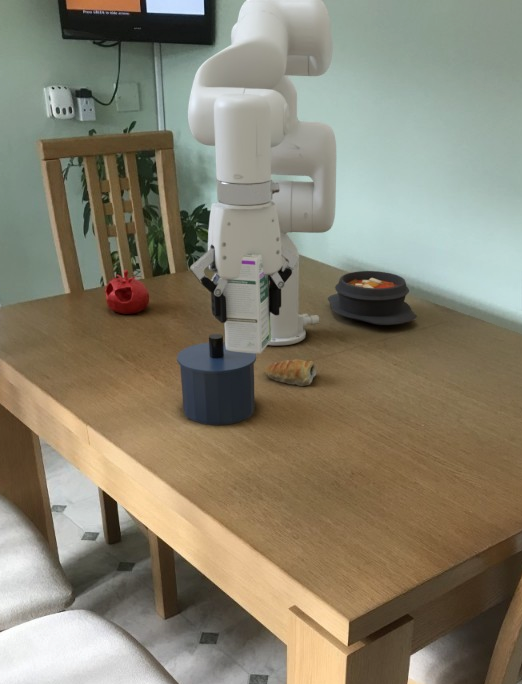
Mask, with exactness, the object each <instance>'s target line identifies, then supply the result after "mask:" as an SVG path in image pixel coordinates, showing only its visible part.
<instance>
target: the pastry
mask: <svg viewBox="0 0 522 684" xmlns="http://www.w3.org/2000/svg"><path fill="white" fill-rule="evenodd" d="M265 372H266V374H267V376H268V378H269V379H271V380H274V381H276V382H280V383H282V384H283V383H284V384H287V385H291V386H292V385H296V386H299V387H306V386H310V385H311V384H312V382H313V379H314V378H315V377H316V375H317V369H316V364H315V362H314V361H313V360H310V361H308V360H303V359H298V358H295V359H292V360H289V359H287V360H281V361H280V362H273V363H272V364H270V365H268V366H267V367H265Z"/></svg>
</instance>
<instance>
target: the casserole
mask: <svg viewBox="0 0 522 684" xmlns="http://www.w3.org/2000/svg"><path fill="white" fill-rule="evenodd" d="M334 289H335V291H336V292H337V293H334V294H331V295H329V296H328V297H327V301H328V302H329V303H330V307H331V308H330V309H331V310H332V311H333V312H334V313H336V314H338V315H340V316H342V317H345V318H347V319H351V320H354V321H357V322H363V323H368V324H372V325H375V326H376V325H377V326H396V325H402V324H406V323H410V322H412V321H414V320H416V319H417V314H416V313H414V312H413V309H412V308H411V305H410V304H408V303H407V301H405V300H406V296H407V295H408V294H409V293H410V289H409V287H408V286H407V282H406V280H405V278H404V277H402V276H401V275H397V274H395V273H390V272H385V271H379V270H377V271H376V270H362V271H359V270H358V271H352V272H348V273H345V274H343V275H342V276H341V277H340V278H339V281H338V283H337V284H336V285H335V287H334Z"/></svg>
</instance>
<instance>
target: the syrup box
mask: <svg viewBox="0 0 522 684" xmlns="http://www.w3.org/2000/svg"><path fill="white" fill-rule="evenodd" d="M223 295H224V296H225V297H226V316H227V321H226V322H225V323H223V324H224V342H225V345H226V350H229V351H235V352H245V353H256V354H259V355H261V354H262V353H263V352H264V350H265V349H266V348H267V347H268V346H269V345H268V344H269V342H270V341H271V330H270V292H269V275H264V272H263V264H262V256H261V254H251V255H244V257H243V258H242V264H241V270H240V275H239V277H238V278H235V279H229V281H228V283H227V285H226V287H225V289H224V291H223Z"/></svg>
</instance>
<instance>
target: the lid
mask: <svg viewBox="0 0 522 684" xmlns="http://www.w3.org/2000/svg"><path fill="white" fill-rule="evenodd" d="M256 361H257V353H245V352H235V351H229V350H226V345H225V341H224V335H222V334H220V333H212V334H209V335H208V342H204V343H203V342H202V343H198V344H194V345H190V346H187V347H185V348H184V349H182V350H180V351H179V352H178V354H177V356H176V362H177V364H178V365H179V366H182V367H183V368H185V369H188V370H191V371H194V372H200V373H209V374H221V373H230V372H236V371H240V370H243V369H246V368H248V367H250V366H251V365H253V364H254V365H255V363H256Z"/></svg>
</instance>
